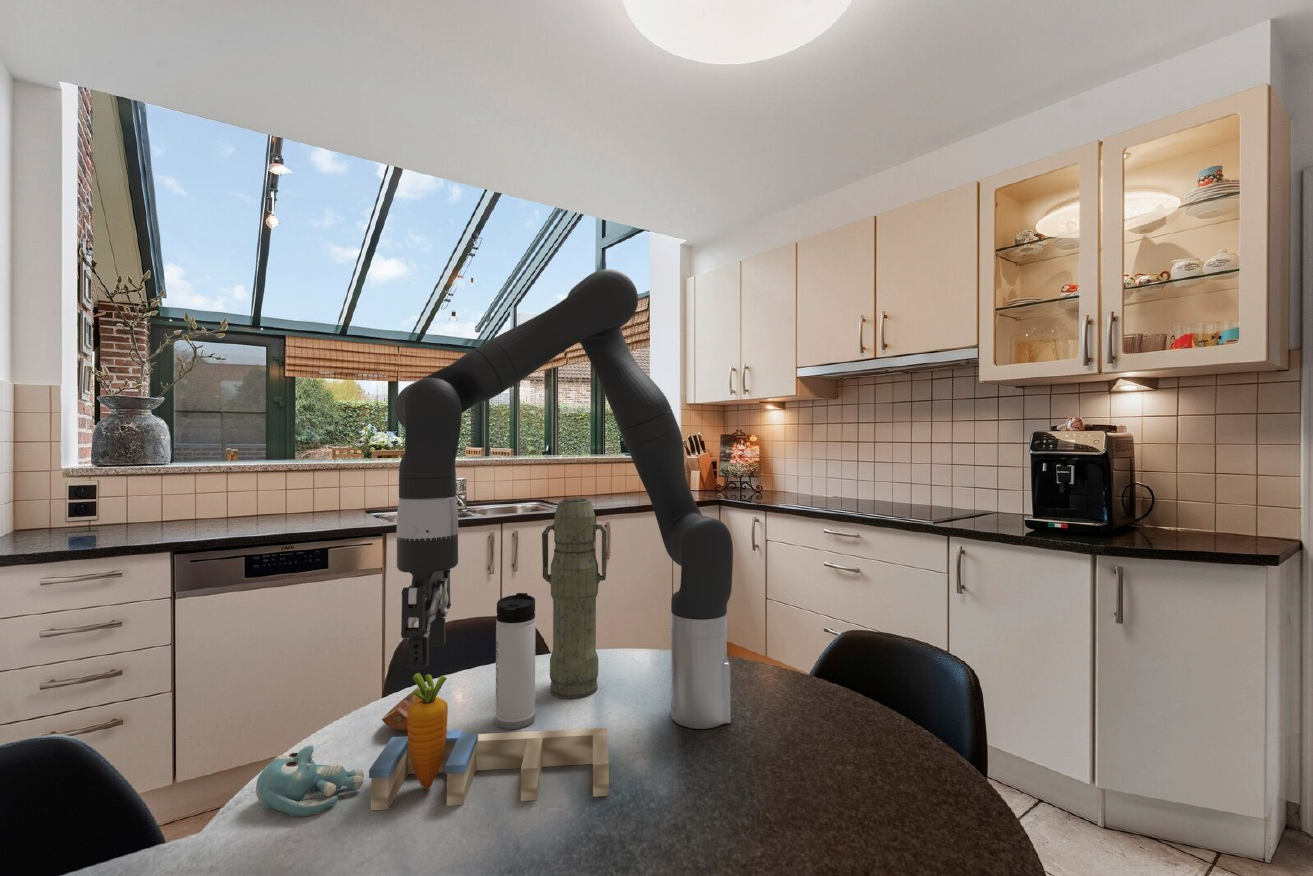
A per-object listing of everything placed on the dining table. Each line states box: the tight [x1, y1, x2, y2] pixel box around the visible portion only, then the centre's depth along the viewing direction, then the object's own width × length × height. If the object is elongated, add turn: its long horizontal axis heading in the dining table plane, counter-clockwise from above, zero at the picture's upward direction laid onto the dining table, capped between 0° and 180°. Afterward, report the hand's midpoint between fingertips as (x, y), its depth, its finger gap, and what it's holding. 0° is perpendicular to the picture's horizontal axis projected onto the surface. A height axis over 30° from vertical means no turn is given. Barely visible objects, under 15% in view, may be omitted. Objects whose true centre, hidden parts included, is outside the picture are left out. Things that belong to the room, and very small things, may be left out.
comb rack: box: [368, 727, 610, 811], centre depth 79 cm, size 29×10×5 cm, turn 96°
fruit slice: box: [381, 686, 421, 731], centre depth 94 cm, size 8×7×5 cm
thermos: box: [541, 498, 607, 700], centre depth 110 cm, size 9×12×35 cm
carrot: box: [406, 672, 449, 790], centre depth 78 cm, size 5×5×15 cm
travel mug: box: [495, 592, 536, 730], centre depth 97 cm, size 6×7×20 cm
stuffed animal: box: [255, 745, 365, 818], centre depth 75 cm, size 11×7×12 cm
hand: (428, 656), depth 78 cm, fingers open, 8 cm apart
